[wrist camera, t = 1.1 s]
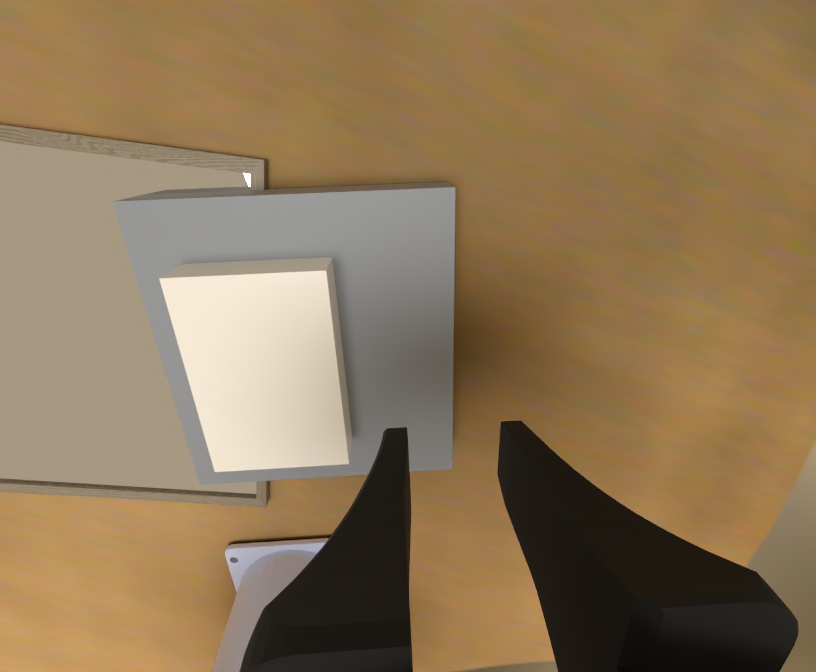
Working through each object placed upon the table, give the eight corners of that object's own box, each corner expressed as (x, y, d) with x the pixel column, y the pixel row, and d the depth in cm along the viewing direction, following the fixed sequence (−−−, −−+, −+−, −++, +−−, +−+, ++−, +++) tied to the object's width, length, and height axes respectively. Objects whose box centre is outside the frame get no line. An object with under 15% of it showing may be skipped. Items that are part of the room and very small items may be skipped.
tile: (352, 436, 21) (348, 464, 19) (229, 443, 21) (214, 472, 19) (332, 256, 17) (326, 270, 16) (182, 264, 17) (159, 278, 15)
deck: (446, 439, 25) (452, 469, 22) (217, 452, 24) (200, 484, 22) (446, 181, 19) (455, 187, 17) (145, 193, 18) (112, 201, 16)
